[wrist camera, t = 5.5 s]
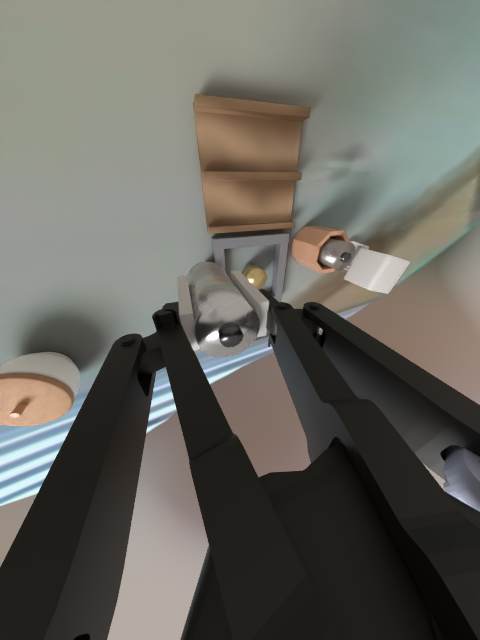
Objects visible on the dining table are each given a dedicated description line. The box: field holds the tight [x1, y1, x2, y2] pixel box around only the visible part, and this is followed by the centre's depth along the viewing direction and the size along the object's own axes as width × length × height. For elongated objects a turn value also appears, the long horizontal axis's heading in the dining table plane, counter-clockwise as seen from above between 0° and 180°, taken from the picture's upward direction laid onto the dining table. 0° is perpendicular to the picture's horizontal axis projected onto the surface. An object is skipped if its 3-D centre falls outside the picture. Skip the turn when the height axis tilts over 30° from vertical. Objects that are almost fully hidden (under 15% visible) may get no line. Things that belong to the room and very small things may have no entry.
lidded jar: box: [0, 352, 80, 426], centre depth 28 cm, size 11×11×9 cm
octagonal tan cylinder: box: [291, 226, 351, 273], centre depth 31 cm, size 6×6×7 cm
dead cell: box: [317, 238, 356, 270], centre depth 30 cm, size 4×4×10 cm
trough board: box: [193, 94, 311, 234], centre depth 25 cm, size 13×14×2 cm
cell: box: [187, 262, 260, 357], centre depth 14 cm, size 4×4×10 cm
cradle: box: [212, 232, 290, 302], centre depth 32 cm, size 13×15×3 cm
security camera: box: [344, 241, 410, 294], centre depth 35 cm, size 6×7×10 cm
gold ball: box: [242, 264, 267, 289], centre depth 32 cm, size 4×4×3 cm
